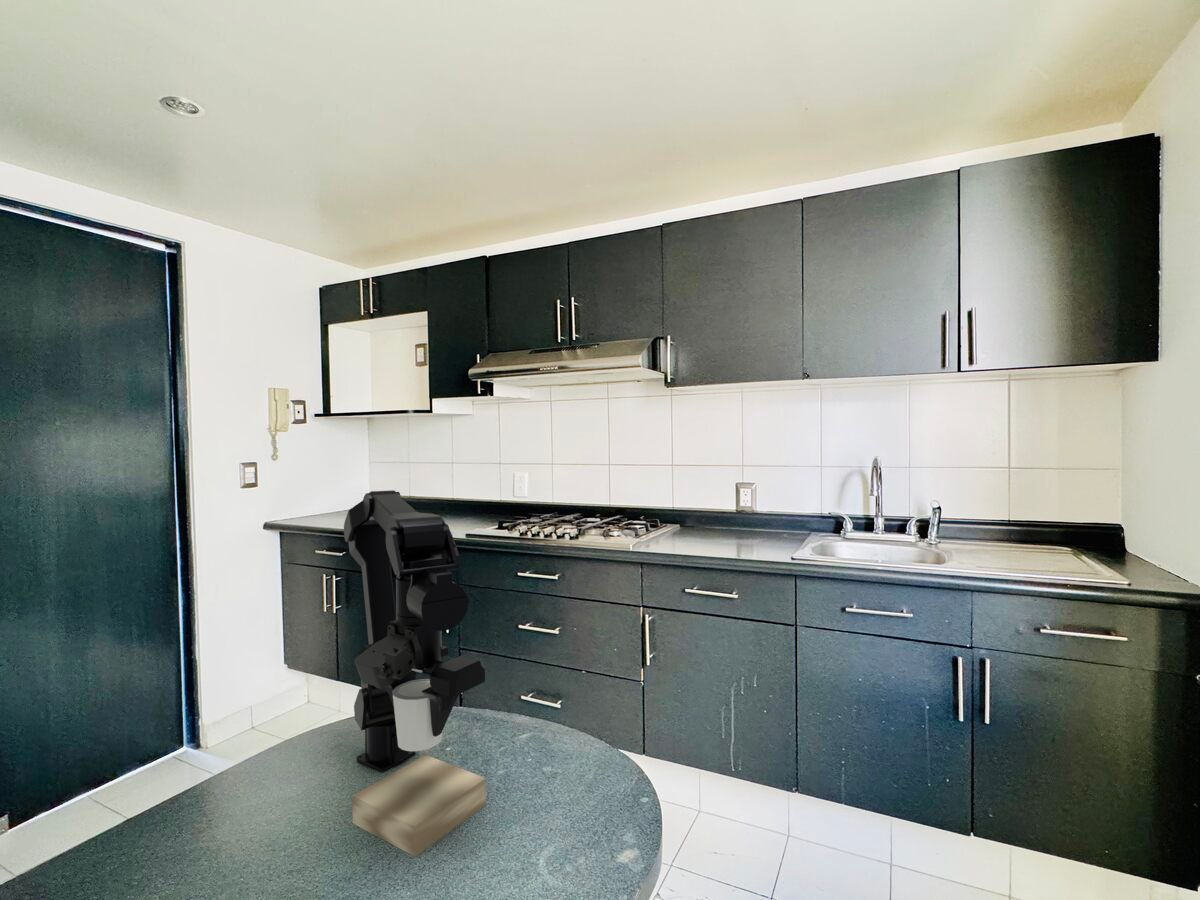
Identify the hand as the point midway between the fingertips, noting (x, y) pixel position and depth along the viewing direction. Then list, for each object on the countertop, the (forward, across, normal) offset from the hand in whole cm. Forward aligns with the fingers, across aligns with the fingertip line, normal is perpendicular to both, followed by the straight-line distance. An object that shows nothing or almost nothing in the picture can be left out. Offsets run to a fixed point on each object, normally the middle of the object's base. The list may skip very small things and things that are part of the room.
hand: (420, 729), depth 78 cm
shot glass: (+2, 0, 0) cm, 2 cm away
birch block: (+12, 0, 0) cm, 12 cm away
